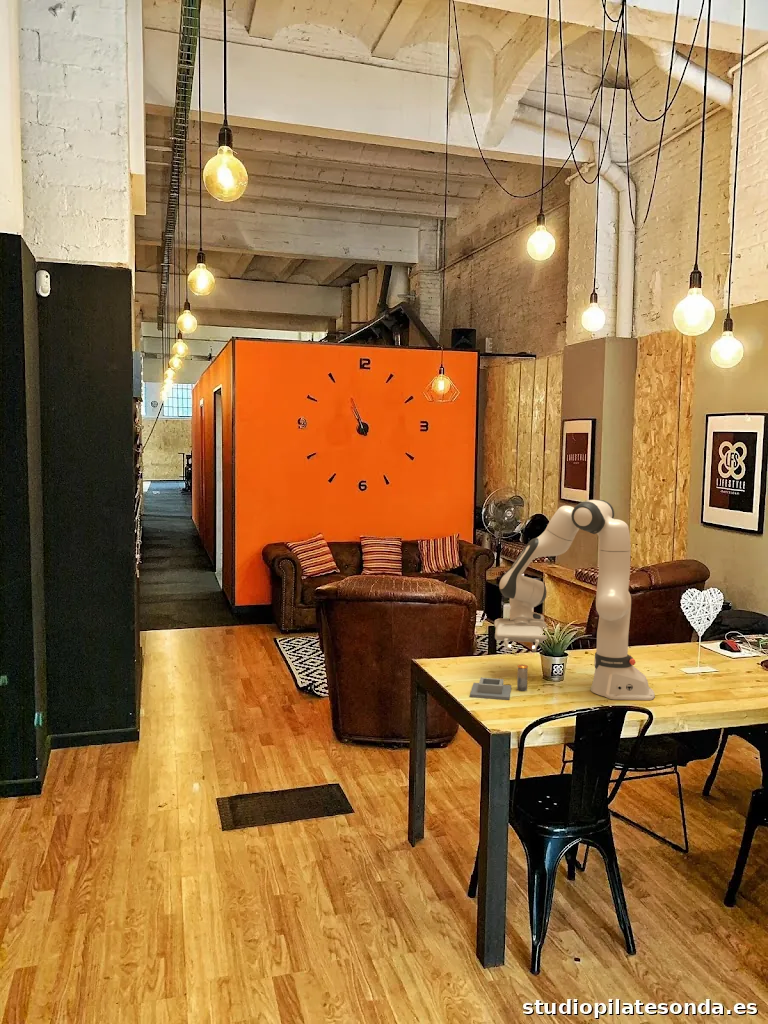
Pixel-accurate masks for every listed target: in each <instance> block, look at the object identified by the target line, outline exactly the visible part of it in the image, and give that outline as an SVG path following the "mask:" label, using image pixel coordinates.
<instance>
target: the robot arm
mask: <svg viewBox="0 0 768 1024" xmlns="http://www.w3.org/2000/svg"><path fill="white" fill-rule="evenodd" d="M629 529H630V528H629V525H628V523H626V522H625V521H624V520H621V519H618V518H615V509H614V507H613V505H612V504H610V502H609V501H606V500H602V499H589V500H585V501H581V502H579V503H578V504H576V505H575V506H571V505H562V506H559V508H557V510H556V511H555V513H554V514H553V515H552V517H551V518H550V521H549V522H548V523H547V526H546V528H545V529H544V531H543V532H542V533H541V534H540V535H539V536H537V537H535V538H532V539H531V540H529V541H528V543H527V544H526V545H525V547H524V548H523V549H522V551H521V552H520V553H519V554H518V556H517V557H516V559H515V561H514V562H513V563H512V564H511V566H510V567H509V569H508V570H506V572H505V573H504V574H503V575H502V576H501V578H500V580H499V583H498V587H499V588H498V589H499V592H500V594H502V596H503V597H504V598H508V599H509V606H510V608H509V617H508V618H507V617H506V618H505V617H503V618H501V617H500V618H499V617H498V618H497V619H495V620H494V622H493V623H494V625H493V626H494V628H495V631H494V632H495V633H494V639H495V640H496V641H499V642H500V641H501V642H503V644H504V645H505V646H506V650H507V651H512V644H509V642H519V643H520V642H521V643H523V642H525V643H534V645H531V651H532V652H535V653H536V652H537V647H538V646H539V644H540V643H543V641H544V640H546V639H547V636H546V635H542V634H543V633H544V631H543V629H545V628H547V631H549V630H548V626H547V624H546V622H545V616H544V614H539V613H537V612H534V611H533V608H536V607H537V606H539V605H541V604H543V602H544V601H545V600H546V598H547V592H548V591H547V587H546V584H545V583H544V582H543V581H541V580H539V579H535V578H532V577H528V576H525V575H523V574H524V573H525V571H526V569H527V568H528V567H529V565H530V564H531V563H532V561H533V560H535V559H537V558H543V557H556V556H560V555H563V554H565V553H566V552H567V551H568V550H569V549H570V547H571V546H572V544H573V542H574V540H575V537H576V536H577V534H578V532H579V530H582V531H585V532H587V533H590V534H593V535H596V534H597V536H598V540H599V541H598V574H597V581H596V582H597V583H596V597H595V608H596V612H597V614H598V616H599V617H598V624H597V630H596V651H595V653H594V662H593V663H594V674H593V679H592V684H591V686H590V691H591V692H592V693H594V694H596V695H599V696H602V697H606V698H607V699H609V700H626V701H628V700H629V701H630V700H632V701H634V700H635V701H637V700H638V701H651V700H654V699H655V694H656V693H655V691H654V690H653V688H652V687H650V686H649V682H648V679H647V676H646V675H645V674H644V673H642V672H641V671H640V670H639V669H638V668H636V667H635V666H634V665H636V660H635V659H634V658H633V657H632V656H631V654H628V653H629V651H628V650H629V633H630V631H629V630H630V623H631V622H630V620H631V612H632V596H631V595H632V594H631V593H630V591H629V588H630V578H631V577H630V575H631V552H632V551H631V550H632V547H631V544H632V543H631V535H630V530H629ZM543 627H544V628H543ZM540 634H541V635H540Z"/></svg>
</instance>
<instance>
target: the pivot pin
mask: <svg viewBox="0 0 768 1024" xmlns="http://www.w3.org/2000/svg"><path fill="white" fill-rule="evenodd" d="M528 667H529V666H528V665H527V664H524V663H523V664H522V663H521V664H518V665H517V682H516V685H517V686H516V688H517V689H516V690H517V691H518V692H527V691H528Z"/></svg>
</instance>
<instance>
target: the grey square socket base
mask: <svg viewBox="0 0 768 1024" xmlns="http://www.w3.org/2000/svg"><path fill="white" fill-rule="evenodd" d="M511 693H512V685H510V684H504V678H494V677H493V678H492V677H480V678H479V682H473V684H472V687H471V690H470V693H469V698H478V699H490V700H506V701H507V700H508V701H510V700H511V699H510V698H511Z"/></svg>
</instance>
